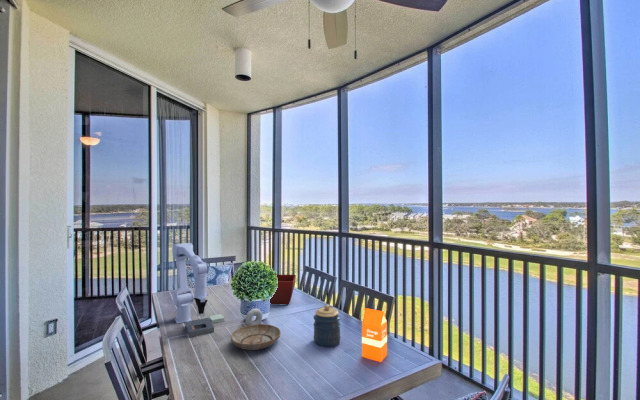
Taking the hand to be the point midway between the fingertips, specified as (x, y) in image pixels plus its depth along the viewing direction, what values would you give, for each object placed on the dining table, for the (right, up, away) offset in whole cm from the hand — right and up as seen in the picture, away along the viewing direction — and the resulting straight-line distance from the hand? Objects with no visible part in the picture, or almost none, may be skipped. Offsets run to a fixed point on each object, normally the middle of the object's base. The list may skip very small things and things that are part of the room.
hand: (200, 312), depth 157 cm
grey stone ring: (+27, -10, +5) cm, 29 cm away
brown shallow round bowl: (+32, -10, -14) cm, 36 cm away
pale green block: (+3, -10, +15) cm, 18 cm away
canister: (+66, -10, -13) cm, 68 cm away
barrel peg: (0, -1, 0) cm, 1 cm away
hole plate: (-2, -10, +2) cm, 10 cm away
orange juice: (+87, -9, -26) cm, 91 cm away
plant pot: (+36, -11, +47) cm, 60 cm away
